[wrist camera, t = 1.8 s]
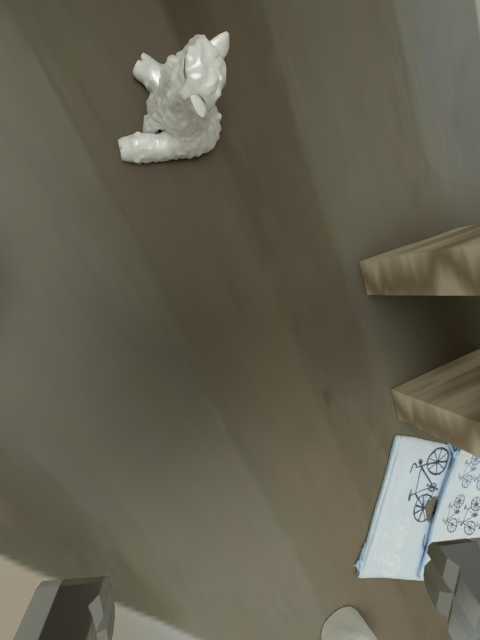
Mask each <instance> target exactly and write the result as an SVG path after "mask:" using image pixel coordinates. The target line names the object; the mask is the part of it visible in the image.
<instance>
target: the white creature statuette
mask: <svg viewBox="0 0 480 640" xmlns="http://www.w3.org/2000/svg"><path fill="white" fill-rule="evenodd" d="M228 50H229V33H228V32H227V31H226V32H223V33H221V34H219V35H217V36H216V37H214V38H213V39H212V40H210V41H209V40H208V39H207V38H206V36H205V35H200V34H199V35H198V34H197V35H195V36H194V38H191V39H190V40H189V42H188V44H187V45H186V46H185V47H184V48H183V50H182V51H180V52H177V53H176V56H174V55H170V56H168V58H167V61H166V63H165V64H160V63H159V62H157V61H156V60H154V59H152V57H151V56H149V55H147V54H145V53H142V55H141V61H140V60H138V61H137V63H136V65H135V67H134V69H133V75H134V76H135V78H136V79H137V80H138V81H140V82H141V83H143V84H144V85H145V87H146V89H147V90H148V91H150V96H149V98H148V99H147V102H146V104H147V115H145V116H144V122H143V133H141V132H135V133H134V134H133V135H129V136H125V137H122V138H120V139H118V144H119V149H120V153H121V159H122V160H123V161H126V162H135V163H138V164H141V163H142V162H143V163H150V162H152V161H153V162H158V161H161V162H164V161H166V160H167V161H169V160H170V159H175V160H177V159H179V158H181V159H184V158H188V159H191V158H193V157H194V156H196V157H199V156H200V155H201V154H203V153H208V152H209V151H210V150H212V149H213V148H214V147H215V145H216V141H217V140H218V139H220V135H219V132H220V131H221V129H222V128H221V126H220V123H219V122H220V120H221V117H222V116H221V114H220V113H219V112H218V110H217V107H216V105H215V103H216V101H217V99H218V98H219V97H220V96H221V90H222V89H223V87H224V86H225V84H226V64H225V61H224V58H225V56H226V55H227V53H228ZM159 129H160V130H162V131H161V133H159Z"/></svg>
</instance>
